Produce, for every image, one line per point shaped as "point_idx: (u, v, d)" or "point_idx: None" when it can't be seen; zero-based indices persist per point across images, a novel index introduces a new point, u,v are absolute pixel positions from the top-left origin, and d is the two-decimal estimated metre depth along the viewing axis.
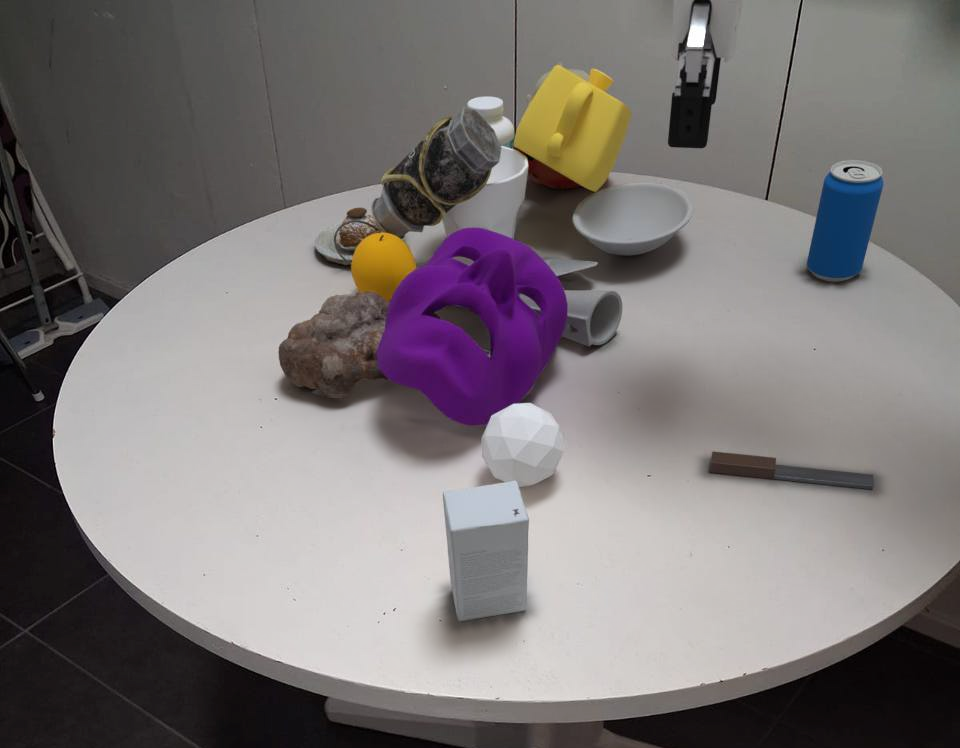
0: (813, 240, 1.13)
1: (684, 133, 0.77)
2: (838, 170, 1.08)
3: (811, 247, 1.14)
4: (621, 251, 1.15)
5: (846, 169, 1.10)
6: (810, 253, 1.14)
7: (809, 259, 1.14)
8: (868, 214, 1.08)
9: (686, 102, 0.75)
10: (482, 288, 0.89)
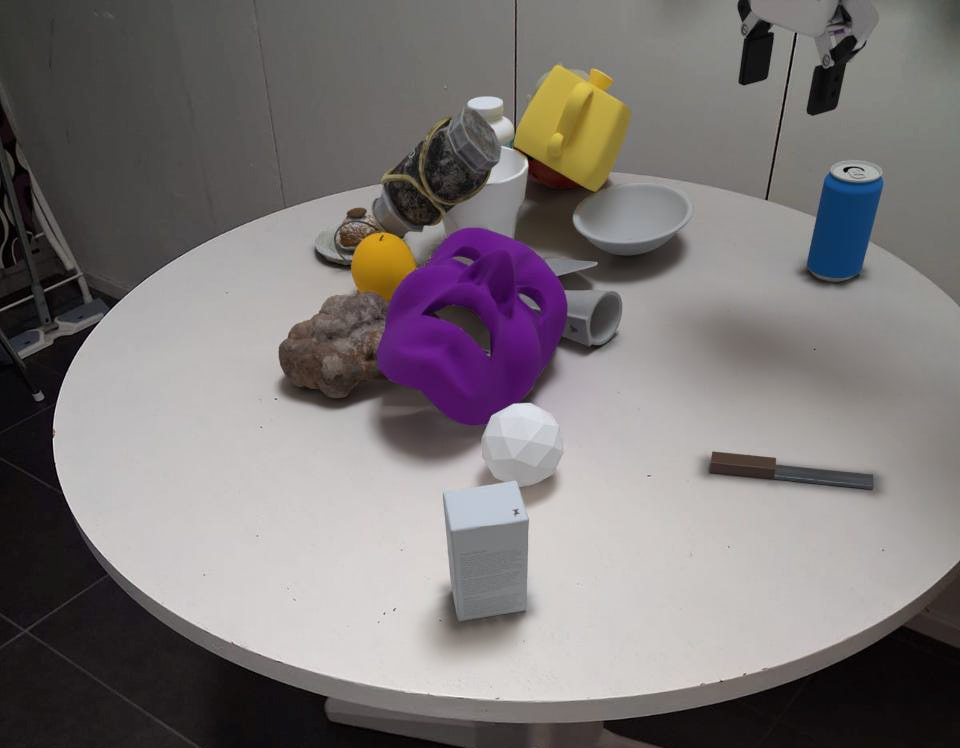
0: (813, 240, 1.13)
1: (829, 99, 0.85)
2: (838, 170, 1.08)
3: (811, 247, 1.14)
4: (621, 251, 1.15)
5: (846, 169, 1.10)
6: (810, 253, 1.14)
7: (809, 259, 1.14)
8: (868, 214, 1.08)
9: (834, 70, 0.83)
10: (482, 288, 0.89)
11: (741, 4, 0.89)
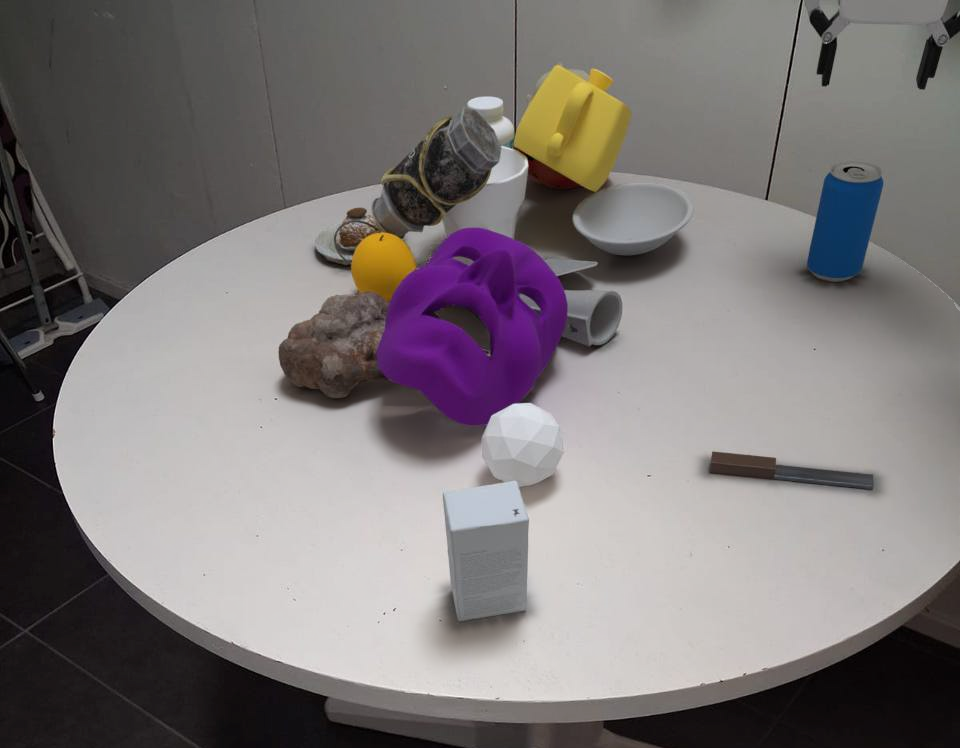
0: (813, 240, 1.13)
1: None
2: (838, 170, 1.08)
3: (811, 247, 1.14)
4: (621, 251, 1.15)
5: (846, 169, 1.10)
6: (810, 253, 1.14)
7: (809, 259, 1.14)
8: (868, 214, 1.08)
9: (942, 46, 0.96)
10: (482, 288, 0.89)
11: (817, 16, 0.96)
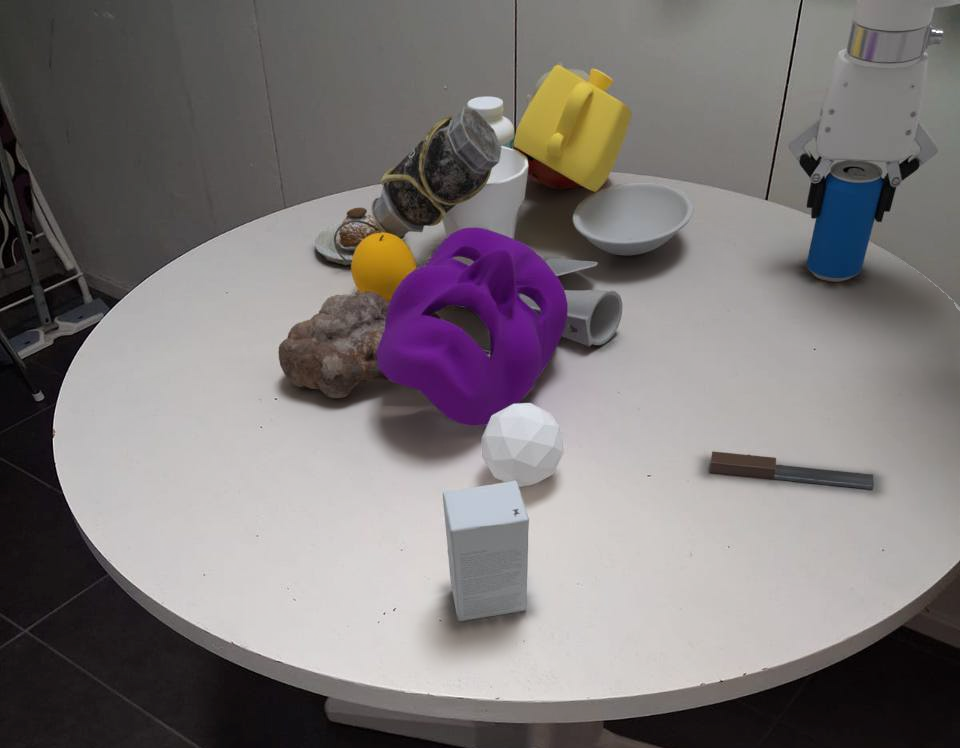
0: (813, 240, 1.13)
1: None
2: (838, 170, 1.08)
3: (811, 247, 1.14)
4: (621, 251, 1.15)
5: (846, 169, 1.10)
6: (810, 253, 1.14)
7: (809, 259, 1.14)
8: (868, 214, 1.08)
9: None
10: (482, 288, 0.89)
11: (806, 160, 1.06)
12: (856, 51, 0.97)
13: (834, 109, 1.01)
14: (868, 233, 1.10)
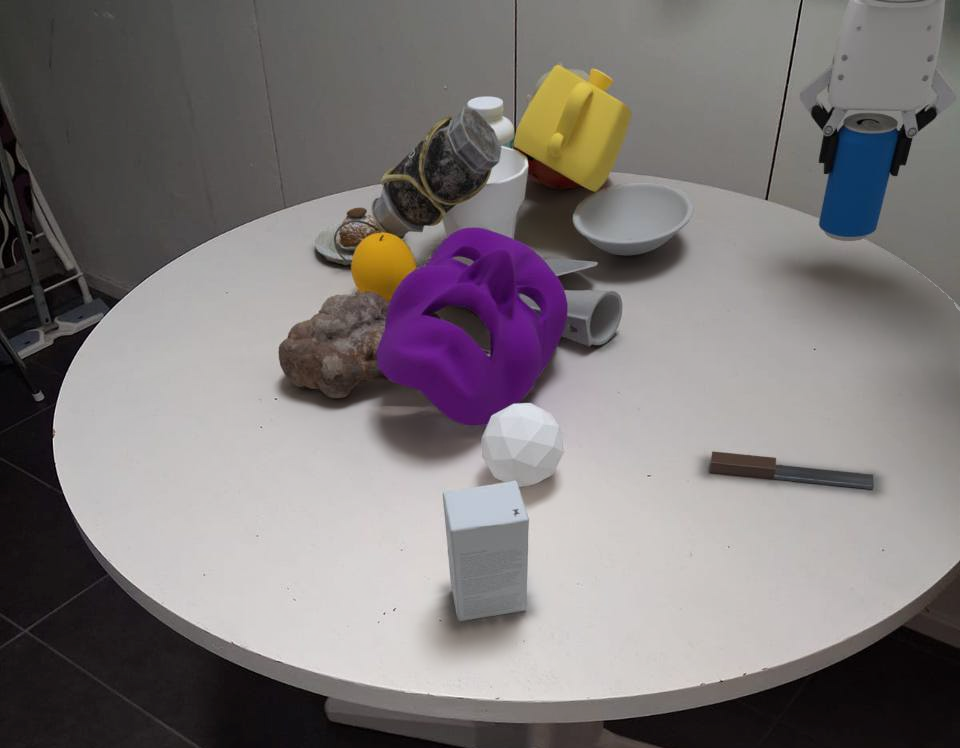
0: (826, 198, 1.09)
1: None
2: (851, 122, 1.03)
3: (823, 205, 1.09)
4: (621, 251, 1.15)
5: (859, 123, 1.06)
6: (822, 212, 1.10)
7: (821, 218, 1.10)
8: (883, 167, 1.03)
9: None
10: (482, 288, 0.89)
11: (818, 111, 1.02)
12: None
13: (847, 55, 0.97)
14: (883, 188, 1.06)
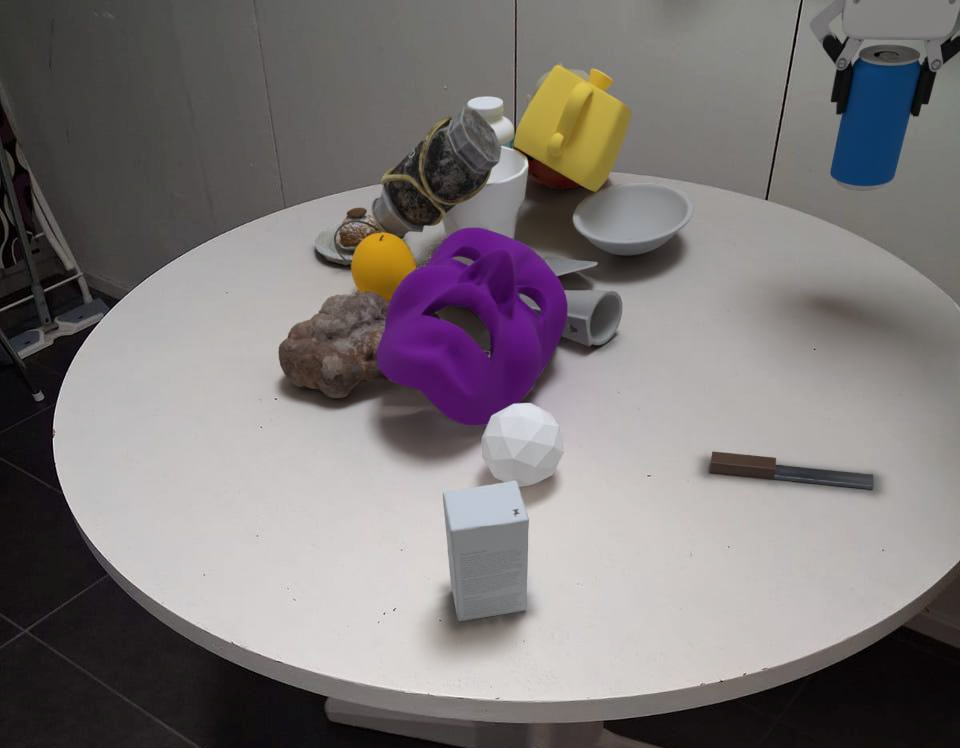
0: (838, 142, 0.97)
1: None
2: (868, 55, 0.92)
3: (835, 151, 0.98)
4: (621, 251, 1.15)
5: (877, 57, 0.95)
6: (834, 158, 0.99)
7: (833, 166, 0.99)
8: (903, 105, 0.92)
9: (936, 72, 0.91)
10: (482, 288, 0.89)
11: (831, 42, 0.91)
12: None
13: None
14: (903, 130, 0.95)
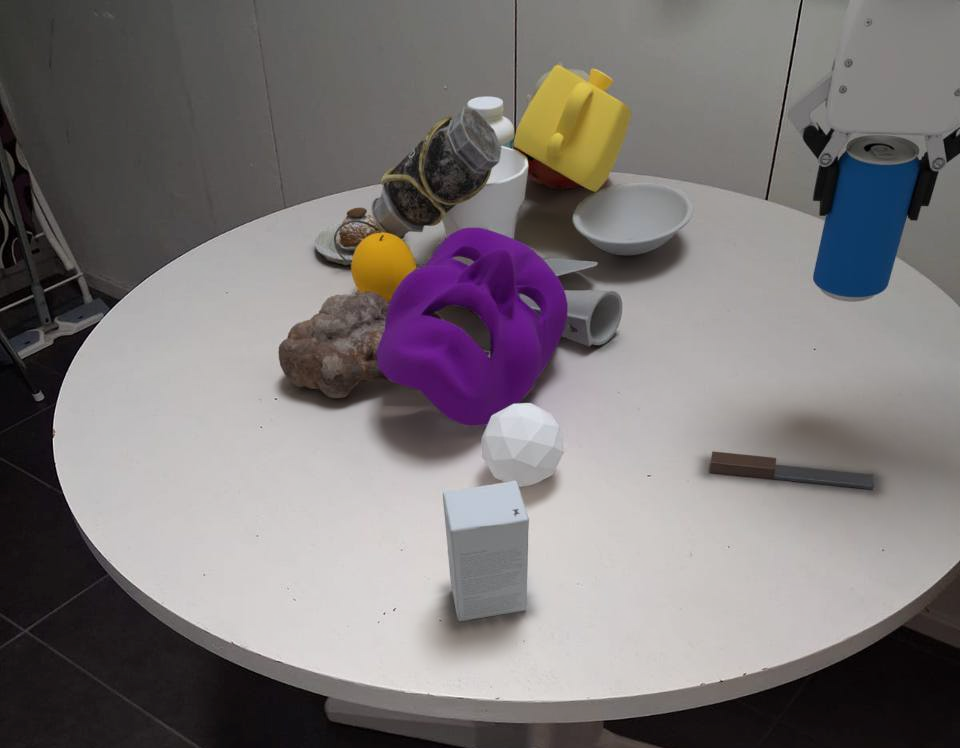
0: (822, 245, 0.82)
1: None
2: (857, 148, 0.77)
3: (819, 255, 0.83)
4: (621, 251, 1.15)
5: (868, 148, 0.80)
6: (818, 263, 0.84)
7: (816, 271, 0.84)
8: (898, 209, 0.77)
9: (938, 170, 0.76)
10: (482, 288, 0.89)
11: (813, 134, 0.76)
12: None
13: (852, 60, 0.71)
14: (898, 236, 0.80)
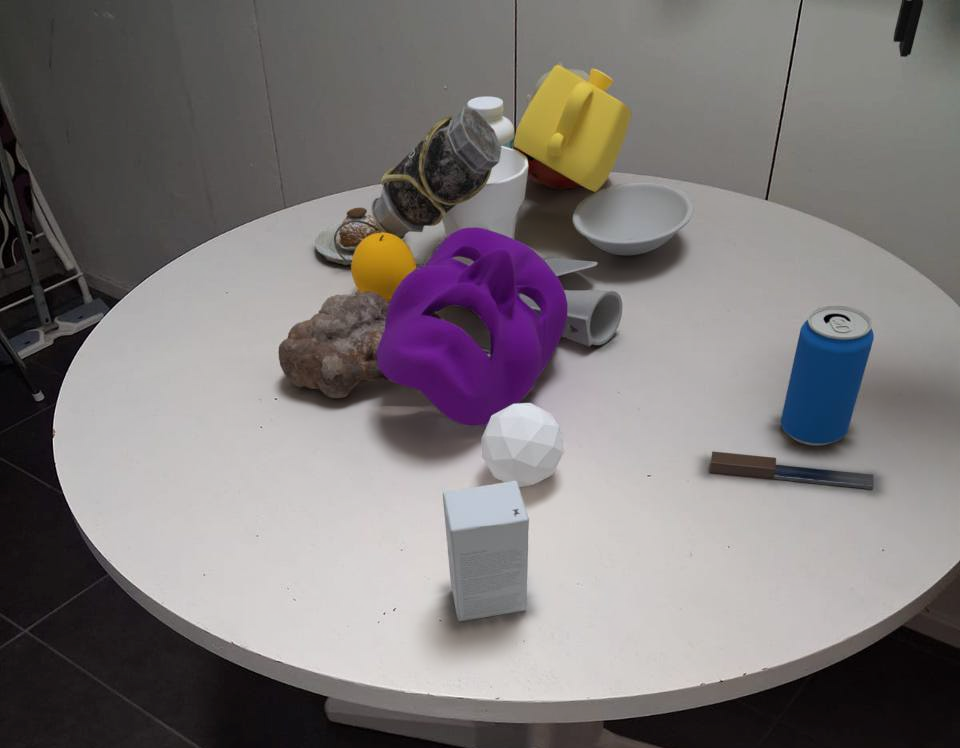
0: (788, 397, 0.92)
1: None
2: (817, 320, 0.87)
3: (786, 404, 0.92)
4: (621, 251, 1.15)
5: (828, 315, 0.89)
6: (784, 411, 0.93)
7: (783, 418, 0.93)
8: (854, 374, 0.87)
9: None
10: (482, 288, 0.89)
11: None
12: None
13: None
14: (855, 393, 0.89)
